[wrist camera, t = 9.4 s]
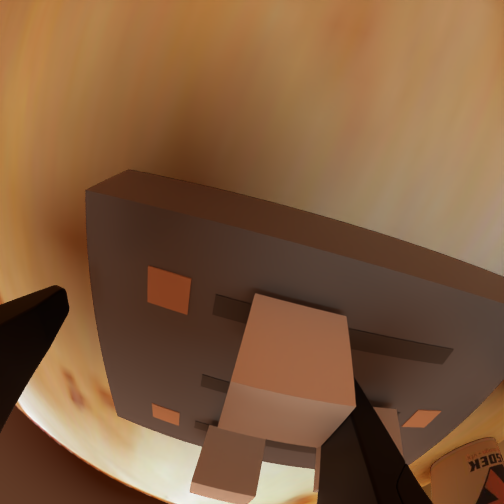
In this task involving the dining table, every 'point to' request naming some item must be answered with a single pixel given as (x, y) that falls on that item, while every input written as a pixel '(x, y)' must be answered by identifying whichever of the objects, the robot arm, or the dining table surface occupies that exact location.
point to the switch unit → (283, 288)
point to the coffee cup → (469, 475)
